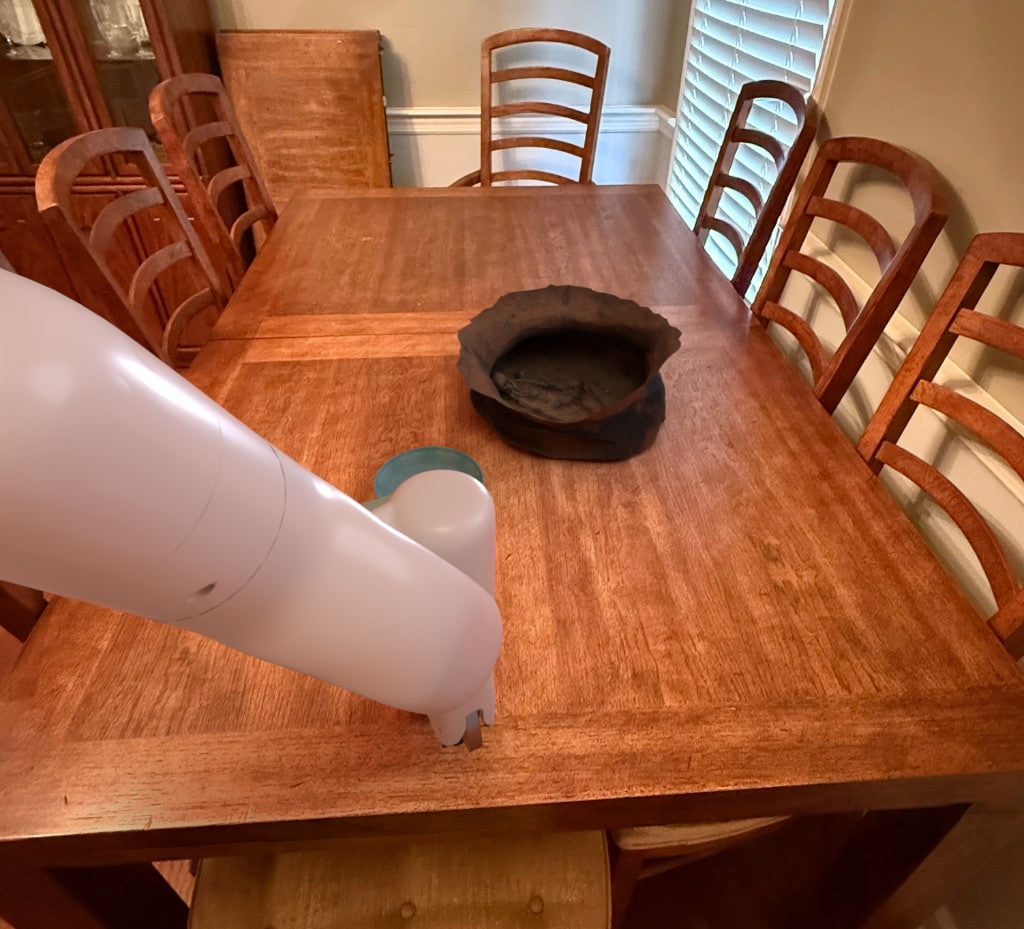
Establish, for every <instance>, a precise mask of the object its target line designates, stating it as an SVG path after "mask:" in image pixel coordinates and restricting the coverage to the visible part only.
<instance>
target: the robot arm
mask: <svg viewBox="0 0 1024 929" xmlns="http://www.w3.org/2000/svg"><path fill="white" fill-rule="evenodd" d="M496 517H497V516H496V507H495V503H494V499H493V496H492V495H491V493H490V491H489V490H488V489H487V487H486V486H485V485H483V484H481V483H480V482H479V481H478V480H477V479H475V478H473V477H472V476H470V475H468V474H465V473H462V472H458V471H453V470H432V471H427V472H423V473H420V474H417V475H414V476H412V477H410V478H409V479H407V480H406V481H404V482H403V483H402V484H401V485H400V486H399V487H398V488H397V489H396V490H395V491H394V493H393V494H392V496H391V497H390V499H389V500H388V501H387V502H386V503H384V504H382V505H381V506H379V507H377V508H375V509H374V510H372V511H369V510H367V509H366V508H365V507H363V506H362V505H361V503H359V502H358V501H356V500H355V499H354V498H353V497H351V496H349V495H348V494H346V493H345V492H344V491H342V490H340V489H339V488H337V487H336V486H334V485H333V484H331V483H329V482H328V481H326V479H323V478H321V477H320V476H318V475H317V474H315V473H313V472H312V471H311V470H309V469H307V468H306V467H305V466H303V465H302V464H300V463H299V462H298V461H296V460H295V459H293V458H292V457H290V456H289V455H288V454H286V453H285V452H284V451H282V450H280V449H279V448H278V447H277V446H275V445H274V444H273V443H271V442H270V441H269V440H267V439H266V438H264V437H263V436H262V435H260V434H259V433H257V431H255V430H252V429H251V428H250V427H249V426H248V425H246V424H244V423H243V422H242V421H241V420H240V419H239V418H237V417H236V416H234V415H233V414H232V413H230V411H228V410H227V409H225V408H224V407H223V406H221V405H220V404H219V403H217V402H216V401H215V400H213V399H212V398H211V397H210V396H209V395H207V394H206V393H205V392H203V391H202V390H201V389H199V388H198V387H197V386H195V384H193V383H192V382H190V381H189V380H188V379H186V378H185V377H183V376H182V375H181V374H179V373H178V372H177V371H175V370H174V369H173V368H172V367H170V366H169V365H168V364H166V363H165V362H164V361H162V360H161V359H160V358H159V357H157V356H156V355H154V354H153V353H152V352H150V351H149V350H148V349H146V348H145V347H144V346H143V345H141V344H140V343H139V342H137V341H136V340H135V339H134V338H132V337H130V335H128V334H126V333H125V332H124V331H122V330H121V329H120V328H119V327H116V326H115V325H114V324H112V323H111V322H109V321H108V320H106V319H105V318H103V317H102V316H100V315H98V313H96V312H94V311H93V310H91V309H89V308H87V307H85V306H84V305H82V304H81V303H79V302H77V301H75V300H73V299H72V298H70V297H68V296H67V295H64V294H62V293H61V292H58V291H57V290H55V289H53V288H52V287H49V286H46V285H43V284H42V283H39V282H37V281H34V280H33V279H30V278H27V277H26V276H23V275H19V274H16V273H14V272H12V271H9V270H6V269H4V268H1V267H0V581H3V582H7V583H11V584H14V585H18V586H21V587H25V588H30V589H33V590H38V591H40V592H45V593H48V594H52V595H55V596H59V597H63V598H67V599H70V600H71V599H72V600H75V601H79V602H82V603H86V604H89V605H94V606H96V607H100V608H104V609H108V610H112V611H116V612H120V613H123V614H127V615H129V616H130V615H131V616H133V617H138V618H142V619H146V620H149V621H151V622H152V621H153V622H156V623H159V624H163V625H166V626H171V627H173V628H174V627H175V628H177V629H181V630H183V631H184V630H185V631H188V632H190V633H191V632H192V633H195V634H196V635H200V636H203V637H206V638H207V639H210V640H213V641H215V642H217V643H218V644H221V645H223V646H226V647H228V648H231V649H233V650H235V651H238V652H240V653H242V654H245V655H247V656H250V657H252V658H255V659H258V660H261V661H262V662H266V663H269V664H272V665H275V666H279V667H281V668H284V669H287V670H290V671H293V672H297V673H300V674H303V675H305V676H308V677H310V678H313V679H317V680H319V681H322V682H324V683H327V684H329V685H332V686H334V687H338V688H340V689H343V690H345V691H348V692H350V693H353V694H356V695H358V696H361V697H364V698H366V699H368V700H371V701H374V702H376V703H380V704H381V705H385V706H388V707H390V708H394V709H398V710H401V711H406V712H410V713H416V714H422V715H427V718H428V720H429V723H430V725H431V727H432V729H433V731H434V734H435V736H436V739H437V740H438V741H439V743H440V745H441V748H443V749H446V748H449V747H451V746H453V747H458V746H461V745H463V744H464V745H465V747H466V748H467V751H468V752H469V753H473V752H474V751H476V750H478V749H481V748H483V747H484V742H483V736H482V735H483V734H482V728H481V723H480V719H481V721H482V723H483V725H484V727H485V728H488V729H491V728H492V727H493V724H494V721H495V716H496V691H495V681H494V680H495V679H494V672H493V671H494V669H495V667H496V664H497V662H498V659H499V656H500V653H501V648H502V642H503V619H502V616H501V612H500V611H501V610H500V608H499V606H498V604H497V602H496V552H497V551H496V550H497V549H496V546H497V545H496V544H497V543H496V536H497V533H496V526H497V524H496V522H497V518H496Z"/></svg>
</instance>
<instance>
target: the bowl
mask: <svg viewBox="0 0 1024 929" xmlns="http://www.w3.org/2000/svg"><path fill="white" fill-rule="evenodd" d="M469 321H470V323H468V324H466V325H465V326H464V327H462V328H460V329H458V330H457V334H456V335H457V339H458V342H459V344H460V347H459V358H458V360H457V362H456V363H455V366H456V368H457V370H458V372H459V373H460V374H461V376H463V378H464V382H465V385H466V387H468V388H469V389H470V390H469V397H470V402H471V406H472V407H473V409H474V411H475V412H476V413H477V415H478V416H479V417H480V418H481V419H484V420H485V421H487V422H488V423H489V424H490V425H491V427H492V428H493V429H494V430H495V431H496V432H497V433H498V434H499V436H500V437H501V438H503V439H504V440H505V441H507V442H508V443H510V444H512V445H513V446H517V447H519V448H522V449H525V450H527V451H530V452H533V453H536V454H539V455H542V456H545V457H548V458H553V459H554V458H555V459H570V460H573V459H574V460H610V461H614V460H621V459H622V458H625V459H628V458H630V457H632V456H633V455H635V454H639V453H641V452H644V451H645V450H647V449H648V448H650V447H651V446H652V445H653V444H654V443H655V441H656V439H657V437H658V433H659V431H660V427H661V424H663V423H664V422H665V421H666V420H667V416H666V413H667V412H666V411H667V407H666V406H667V405H666V395H667V394H666V393H667V392H666V386H665V382H664V381H663V378H662V374H661V373H660V370H661V368H662V367H663V366H664V364H665V363H666V362H667V361H668V359H670V358H671V357H672V356H673V355H674V354H676V352H678V351H679V350H680V348H682V341H681V340H680V338H681V336H682V335H683V332H682V331H681V330H680V329H679V328H677V327H676V326H672V325H671V324H670V323H669V321H668V318H666V317H664V316H662V315H661V313H657V312H656V313H655V312H654V311H652V309H650V307H649V306H641V305H640V304H639V303H638V302H636V301H635V300H633V299H627V298H621V297H619V296H617V295H615V294H612V293H607V292H601V291H597V290H593V289H592V288H591V287H587V286H578V285H571V284H563V285H555V284H552V283H551V284H548V285H547V286H545V287H541V288H535V289H527V290H520V291H519V290H518V291H511V292H507V293H506V294H505V295H503V296H502V295H500V297H499V298H498V299H497V300H496V301H495V303H494V304H493V305H492V306H491V307H487V308H484V309H483V310H482V311H479V313H478V314H477V315H475V316H473V317H471V318H470V319H469Z"/></svg>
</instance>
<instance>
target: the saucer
mask: <svg viewBox="0 0 1024 929" xmlns="http://www.w3.org/2000/svg"><path fill="white" fill-rule="evenodd" d="M432 470H453V471H458V472H462V473H465V474H468V475H470V476H472V477H473V478H475V479H477V480H478V481H479V482H480V483H481V484H483V485H484V484H485V476H484V471H483V469H482V468H481V466H480V464H479V463H478V462H477V461H476V460H475V459H474V458H473V457H472V456H470V455H469V454H467V453H465V452H464V451H461V450H458V449H455V448H452V447H447V446H442V445H441V446H440V445H439V446H437V445H436V446H435V445H432V446H431V445H429V446H420V447H415V448H410V449H407V450H405V451H402V452H400V453H397V454H395V455H394V456H392V457H391V458H389V459H387V461H386V462H384V463H383V464H382V465H381V467H380V468H379V469H378V470H377V472H376V474H375V476H374V480H373V490H374V491H373V492H374V494H375V496H376V499H378V498H381V497H384V496H388V495H392V494H393V493H394V491H395V490H396V489H397V488H398V487H399V486H400V485H401V484H402V483H403V482H404V481H406V480H407V479H409V478H410V477H412V476H414V475H417V474H420V473H423V472H427V471H432ZM484 486H485V485H484Z"/></svg>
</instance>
